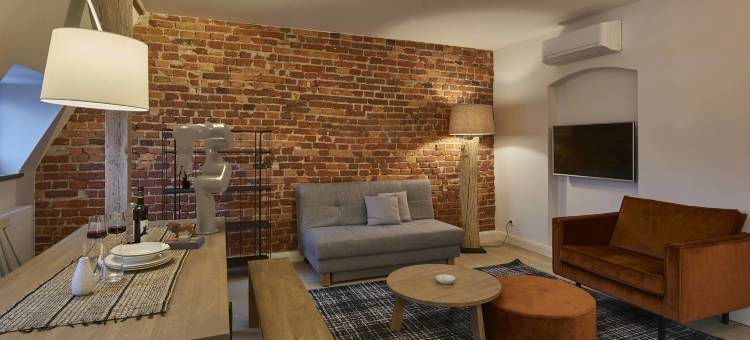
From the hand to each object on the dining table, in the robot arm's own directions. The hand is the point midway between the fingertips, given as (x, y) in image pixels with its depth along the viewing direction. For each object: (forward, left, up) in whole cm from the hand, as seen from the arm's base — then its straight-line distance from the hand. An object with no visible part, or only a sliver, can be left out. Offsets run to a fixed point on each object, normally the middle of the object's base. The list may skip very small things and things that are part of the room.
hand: (186, 188), depth 207 cm
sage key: (+6, +5, -26) cm, 27 cm away
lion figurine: (-12, -6, -27) cm, 31 cm away
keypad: (+7, 0, -27) cm, 28 cm away
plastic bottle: (-4, -27, -27) cm, 39 cm away
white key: (+6, 0, -25) cm, 26 cm away
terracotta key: (+6, -5, -26) cm, 27 cm away
